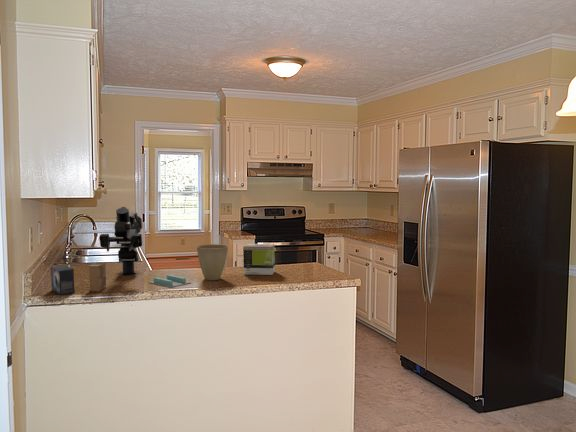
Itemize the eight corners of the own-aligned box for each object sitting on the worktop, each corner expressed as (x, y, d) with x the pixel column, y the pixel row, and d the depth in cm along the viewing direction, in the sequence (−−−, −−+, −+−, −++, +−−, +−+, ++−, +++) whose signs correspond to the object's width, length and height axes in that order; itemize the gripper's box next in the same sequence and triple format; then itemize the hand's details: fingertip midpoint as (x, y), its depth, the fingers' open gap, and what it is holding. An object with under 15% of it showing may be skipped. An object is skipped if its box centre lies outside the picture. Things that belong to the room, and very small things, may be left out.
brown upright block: (97, 287, 217) (96, 262, 216) (106, 287, 217) (105, 263, 216) (89, 291, 210) (89, 265, 209) (98, 291, 210) (98, 266, 209)
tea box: (274, 271, 255) (275, 243, 253) (272, 275, 245) (272, 246, 243) (246, 270, 256) (246, 243, 255) (243, 274, 246) (243, 245, 245)
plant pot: (233, 279, 236) (233, 246, 234) (207, 283, 226) (207, 249, 224) (217, 274, 247) (216, 243, 245) (191, 278, 237) (190, 245, 236)
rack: (148, 282, 227) (148, 277, 226) (169, 278, 236) (169, 273, 236) (170, 287, 217) (170, 282, 217) (190, 283, 226) (190, 278, 226)
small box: (50, 290, 210) (49, 266, 209) (65, 288, 215) (65, 264, 214) (59, 295, 202) (58, 270, 202) (75, 292, 207) (74, 268, 206)
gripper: (101, 217, 227) (94, 236, 214) (142, 217, 230) (138, 235, 217) (103, 237, 233) (97, 256, 220) (144, 236, 236) (140, 255, 223)
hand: (118, 250), depth 220 cm, fingers open, 9 cm apart
